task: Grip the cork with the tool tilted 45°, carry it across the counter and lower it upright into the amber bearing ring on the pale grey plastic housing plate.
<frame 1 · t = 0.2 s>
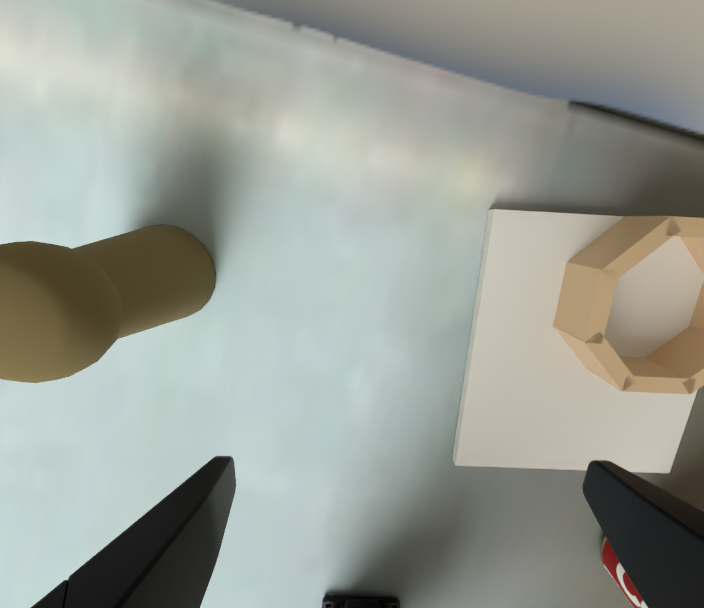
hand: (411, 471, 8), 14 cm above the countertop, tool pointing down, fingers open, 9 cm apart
cork: (169, 272, 22), on the countertop
soda can: (633, 535, 28), on the countertop
housing: (583, 350, 23), on the countertop
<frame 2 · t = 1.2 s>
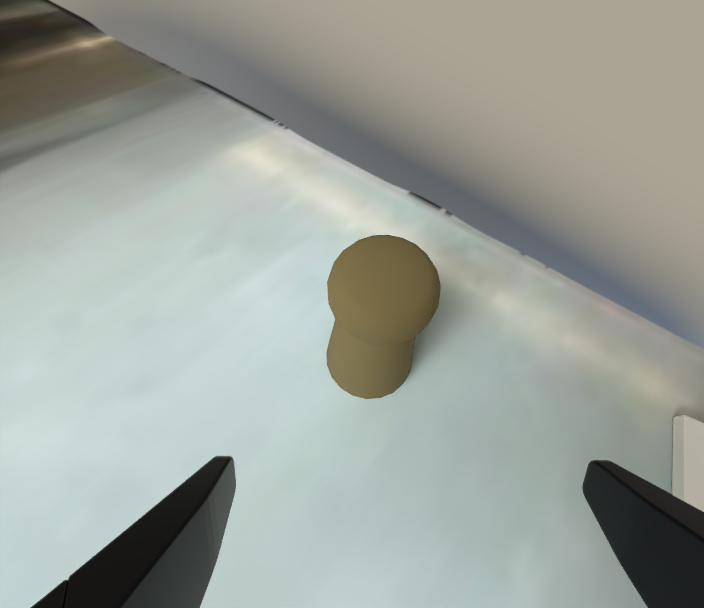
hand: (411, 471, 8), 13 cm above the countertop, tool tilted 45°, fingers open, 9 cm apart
cork: (368, 356, 24), on the countertop
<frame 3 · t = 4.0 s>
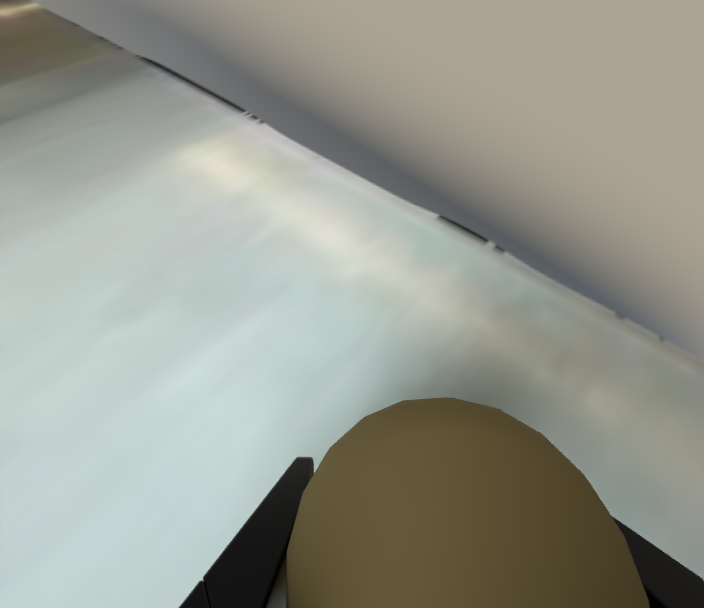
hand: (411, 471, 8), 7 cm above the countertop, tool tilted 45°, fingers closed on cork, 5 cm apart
cork: (384, 514, 14), on the countertop, touching gripper
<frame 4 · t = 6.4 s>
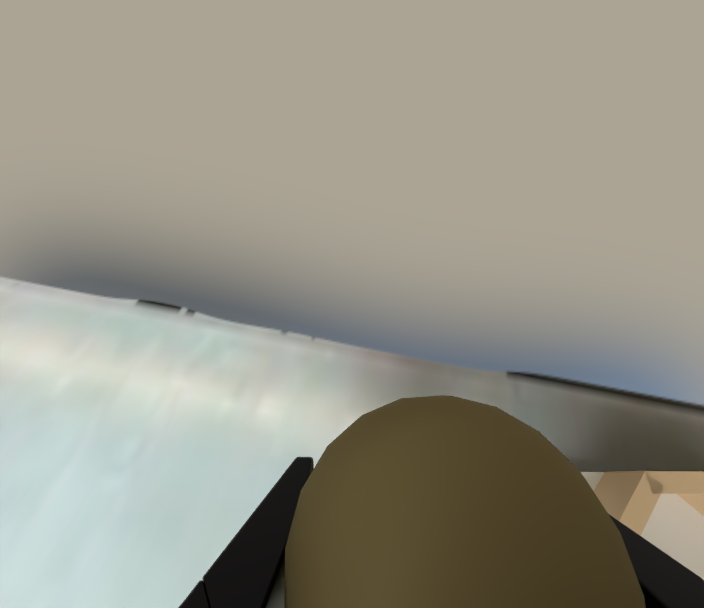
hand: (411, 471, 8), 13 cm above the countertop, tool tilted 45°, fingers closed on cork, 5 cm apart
cork: (382, 512, 14), point 6 cm above the countertop, touching gripper
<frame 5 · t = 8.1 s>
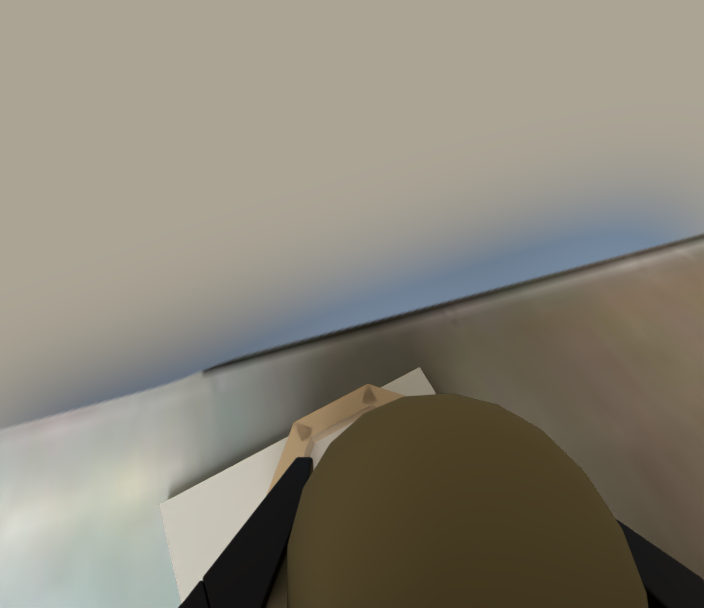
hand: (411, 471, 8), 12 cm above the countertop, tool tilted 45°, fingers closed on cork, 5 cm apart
cork: (383, 511, 14), point 5 cm above the countertop, touching gripper
housing: (378, 605, 16), on the countertop
when the fingers open (8 cm above the countertop, at t = 9.2 s): cork stays where it is, resting on housing.
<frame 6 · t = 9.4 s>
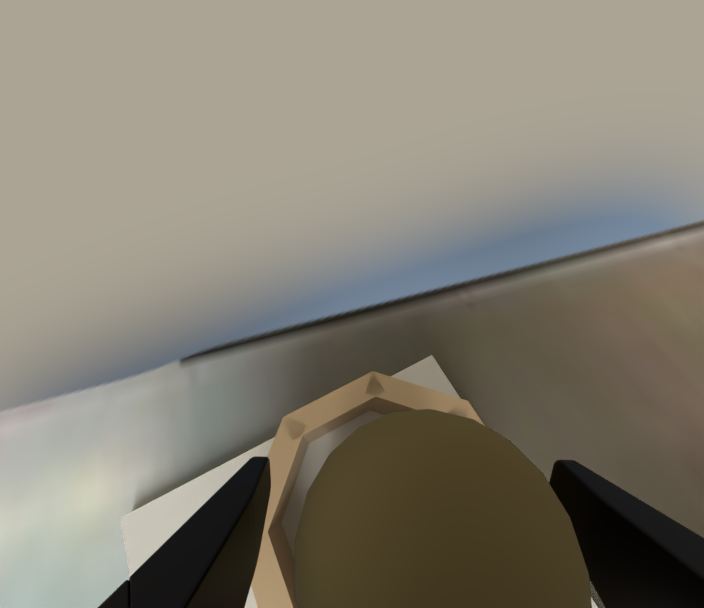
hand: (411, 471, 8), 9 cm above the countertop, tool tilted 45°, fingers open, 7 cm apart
cork: (381, 514, 15), point 1 cm above the countertop, touching housing
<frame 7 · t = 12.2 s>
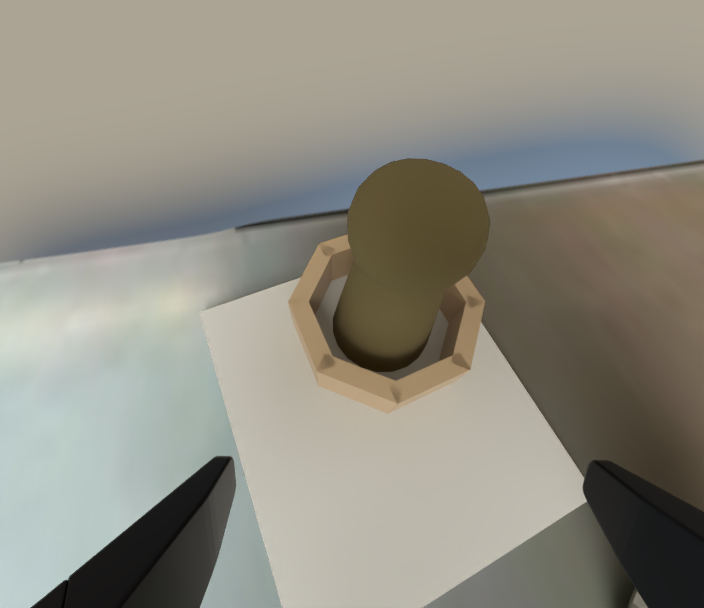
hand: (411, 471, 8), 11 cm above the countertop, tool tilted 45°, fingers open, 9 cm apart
cork: (380, 326, 21), point 1 cm above the countertop, touching housing
housing: (378, 399, 20), on the countertop
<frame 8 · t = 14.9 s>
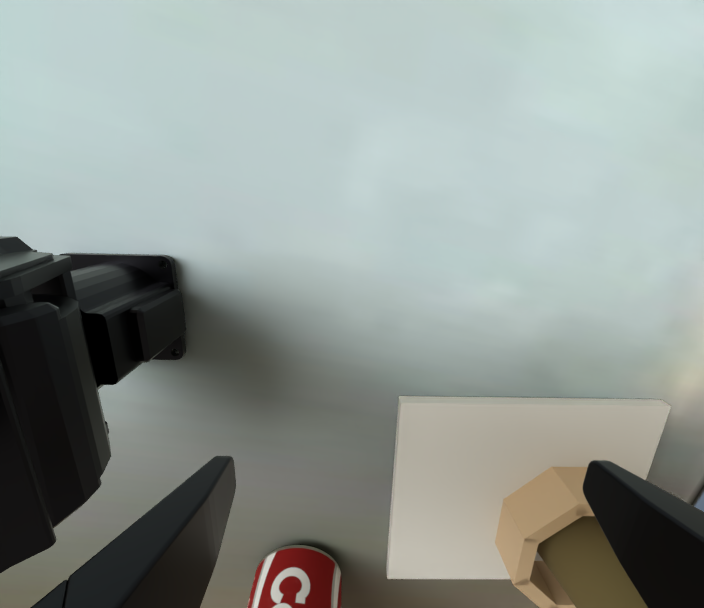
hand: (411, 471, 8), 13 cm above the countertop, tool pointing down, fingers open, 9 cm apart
cork: (562, 518, 25), point 1 cm above the countertop, touching housing
soda can: (300, 565, 27), on the countertop
housing: (511, 491, 25), on the countertop
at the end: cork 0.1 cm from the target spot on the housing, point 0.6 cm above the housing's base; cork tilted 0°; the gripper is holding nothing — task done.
